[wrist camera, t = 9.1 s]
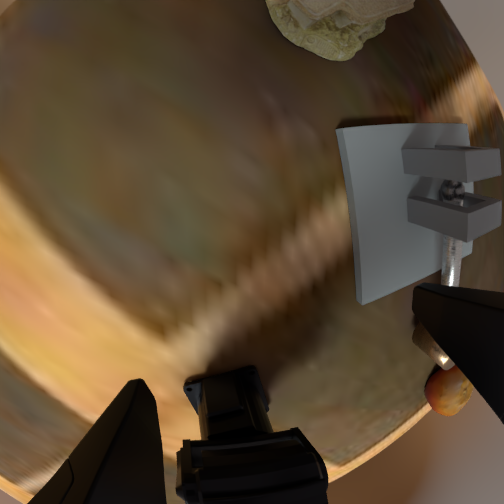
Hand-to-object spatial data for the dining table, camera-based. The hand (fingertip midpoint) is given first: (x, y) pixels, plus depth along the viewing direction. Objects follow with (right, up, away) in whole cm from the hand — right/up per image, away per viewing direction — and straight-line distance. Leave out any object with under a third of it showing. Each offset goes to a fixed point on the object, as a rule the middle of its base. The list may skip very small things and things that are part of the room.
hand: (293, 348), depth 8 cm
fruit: (+26, -16, +24) cm, 39 cm away
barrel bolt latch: (+14, +7, +14) cm, 21 cm away
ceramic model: (+4, +24, +7) cm, 25 cm away
